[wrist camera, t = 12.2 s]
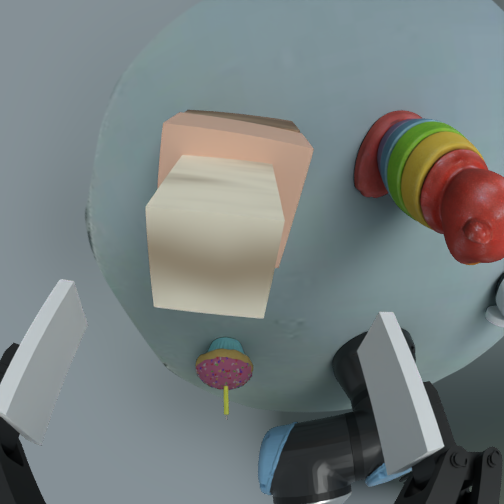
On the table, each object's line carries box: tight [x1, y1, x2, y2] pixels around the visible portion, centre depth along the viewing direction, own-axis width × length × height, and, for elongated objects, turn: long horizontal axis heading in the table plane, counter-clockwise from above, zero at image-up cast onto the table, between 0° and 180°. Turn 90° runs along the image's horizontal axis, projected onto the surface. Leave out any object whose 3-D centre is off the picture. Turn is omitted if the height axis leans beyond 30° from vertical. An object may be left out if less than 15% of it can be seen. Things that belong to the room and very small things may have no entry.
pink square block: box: [157, 112, 314, 268], centre depth 23 cm, size 10×10×5 cm
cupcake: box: [195, 337, 253, 420], centre depth 40 cm, size 9×8×12 cm
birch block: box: [146, 155, 285, 319], centre depth 17 cm, size 6×6×8 cm
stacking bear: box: [354, 111, 504, 265], centre depth 21 cm, size 11×10×18 cm
